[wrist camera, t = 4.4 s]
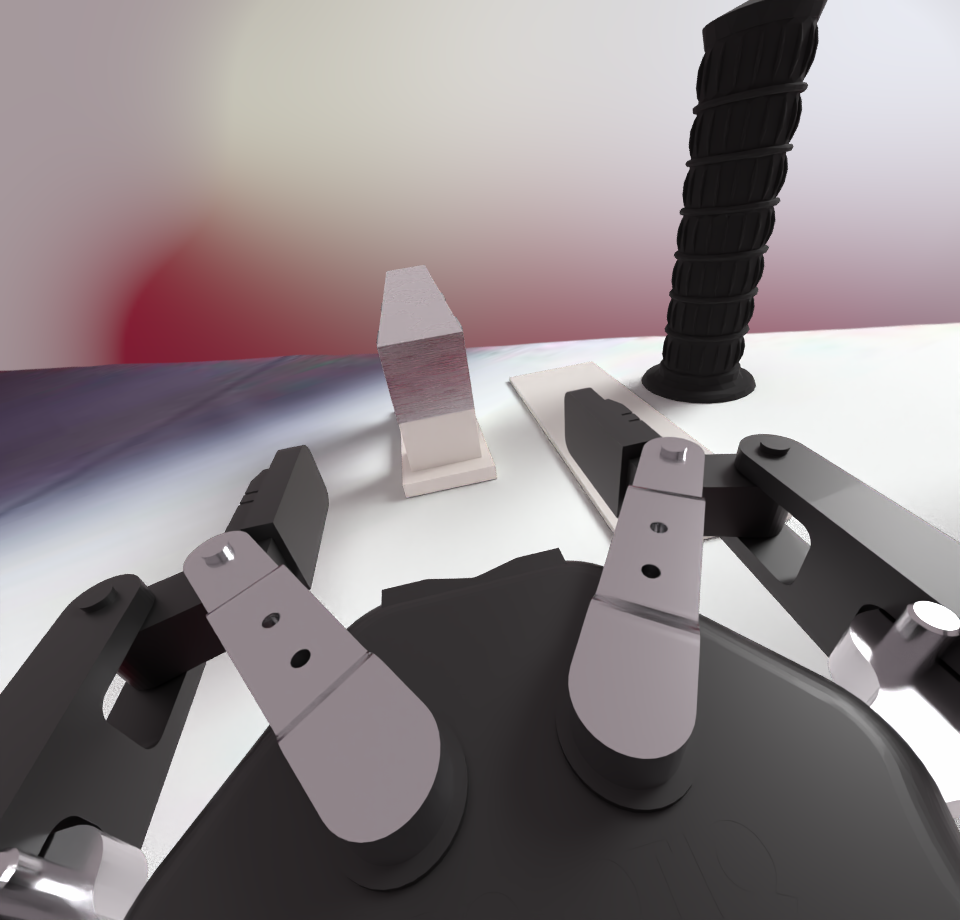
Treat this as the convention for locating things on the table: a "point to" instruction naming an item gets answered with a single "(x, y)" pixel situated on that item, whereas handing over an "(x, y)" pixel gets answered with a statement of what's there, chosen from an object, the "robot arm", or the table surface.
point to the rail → (421, 348)
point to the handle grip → (732, 192)
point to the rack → (444, 452)
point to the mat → (547, 407)
